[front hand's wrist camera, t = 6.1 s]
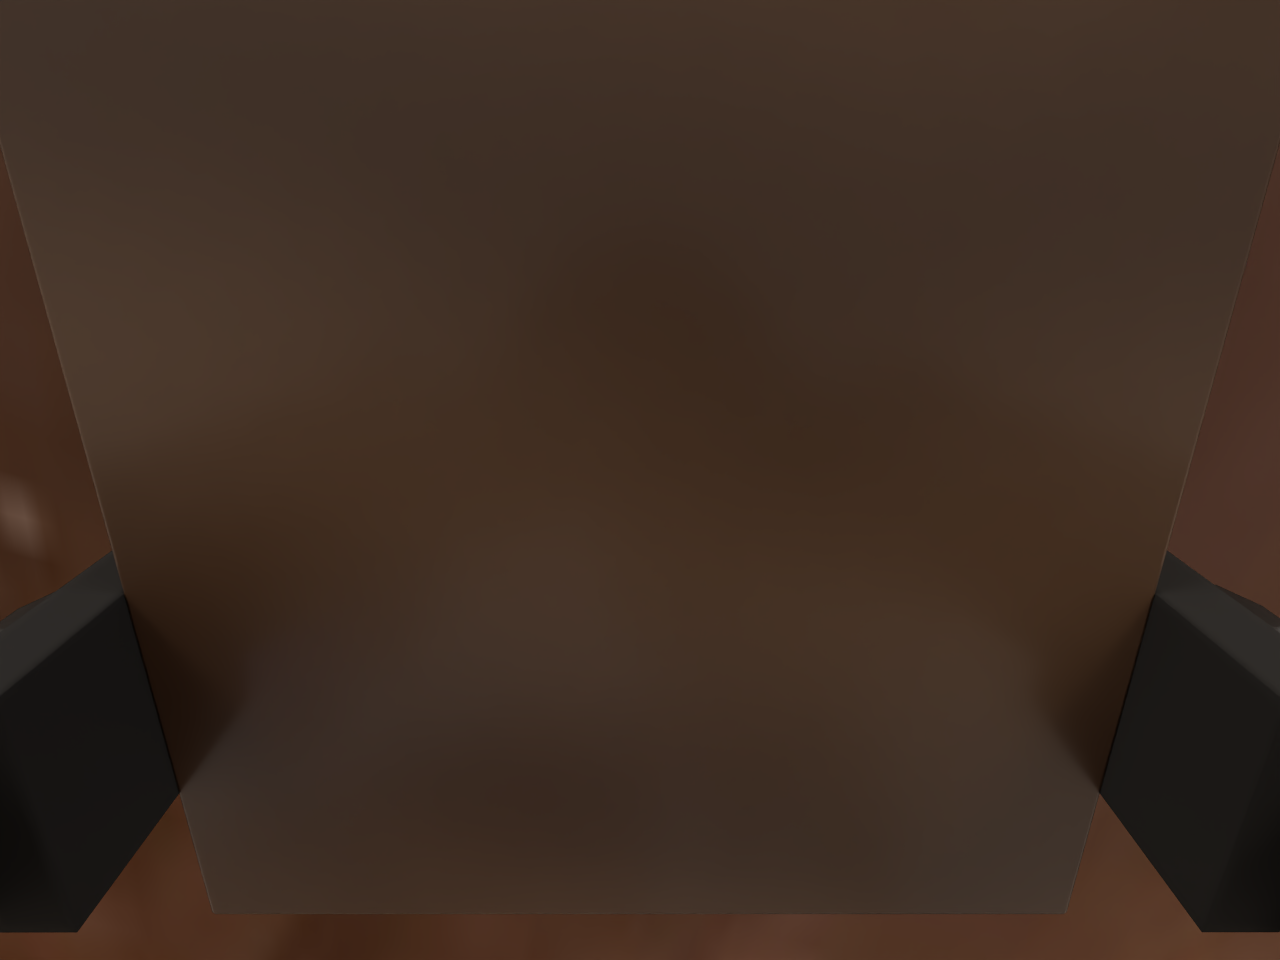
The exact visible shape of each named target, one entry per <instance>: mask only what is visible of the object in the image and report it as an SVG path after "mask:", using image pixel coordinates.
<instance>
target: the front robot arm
mask: <svg viewBox="0 0 1280 960" xmlns="http://www.w3.org/2000/svg"><path fill="white" fill-rule="evenodd" d="M178 794H179V790H178V786H177V783H176V779H175V775H174V772H173V768H172V765H171V761H170V757H169V754H168V750H167V747H166V743H165V739H164V736H163V732H162V728H161V725H160V721H159V718H158V714H157V710H156V707H155V703H154V700H153V696H152V692H151V689H150V685H149V682H148V678H147V674H146V671H145V667H144V664H143V660H142V656H141V653H140V649H139V645H138V642H137V638H136V635H135V631H134V627H133V624H132V620H131V617H130V613H129V609H128V606H127V602H126V599H125V595H124V591H123V588H122V584H121V581H120V577H119V573H118V570H117V566H116V562H115V559H114V555H113V552H112V551H111V552H109V553H108V554H107V555H105V556H104V557H103V558H101V559H100V560H98V561H97V562H96V563H94V564H93V565H92V566H90V567H89V568H87V569H86V570H85V571H83V572H82V573H81V574H79V575H78V576H76V577H75V578H74V579H72V580H71V581H70V582H68V583H67V584H65V585H64V586H63V587H61V588H60V589H59V590H57V591H56V592H54V593H51V594H49V595H47V596H45V597H43V598H41V599H38V600H36V601H34V602H32V603H30V604H28V605H25V606H23V607H21V608H19V609H17V610H16V611H14V612H13V613H12V614H10V615H9V616H7V617H6V618H5V619H3V620H2V621H0V932H78V930H79V929H80V928H81V926H82V925H83V924H84V922H85V921H86V919H87V918H88V917H89V915H90V914H91V913H92V911H93V910H94V909H95V907H96V906H97V904H98V903H99V902H100V900H101V899H102V898H103V896H104V895H105V894H106V892H107V891H108V890H109V888H110V887H111V885H112V884H113V883H114V881H115V880H116V879H117V877H118V876H119V875H120V873H121V872H122V870H123V869H124V868H125V866H126V865H127V864H128V862H129V861H130V860H131V858H132V857H133V855H134V854H135V853H136V851H137V850H138V849H139V847H140V846H141V845H142V843H143V842H144V840H145V839H146V838H147V836H148V835H149V834H150V832H151V831H152V830H153V828H154V827H155V825H156V824H157V823H158V821H159V820H160V819H161V817H162V816H163V815H164V813H165V812H166V811H167V809H168V808H169V806H170V805H171V804H172V802H173V801H174V800H175V798H176V797H177V796H178ZM1100 794H1101V795H1102V797H1103V798H1104V799H1105V801H1106V802H1107V803H1108V805H1109V806H1110V808H1111V809H1112V810H1113V812H1114V813H1115V814H1116V816H1117V817H1118V818H1119V820H1120V821H1121V823H1122V824H1123V825H1124V827H1125V828H1126V829H1127V831H1128V832H1129V833H1130V835H1131V836H1132V838H1133V839H1134V840H1135V842H1136V843H1137V844H1138V846H1139V847H1140V848H1141V850H1142V851H1143V853H1144V854H1145V855H1146V857H1147V858H1148V859H1149V861H1150V862H1151V863H1152V865H1153V866H1154V868H1155V869H1156V870H1157V872H1158V873H1159V874H1160V876H1161V877H1162V878H1163V880H1164V881H1165V882H1166V884H1167V885H1168V887H1169V888H1170V889H1171V891H1172V892H1173V893H1174V895H1175V896H1176V897H1177V899H1178V900H1179V902H1180V903H1181V904H1182V906H1183V907H1184V908H1185V910H1186V911H1187V912H1188V914H1189V915H1190V917H1191V918H1192V919H1193V921H1194V922H1195V923H1196V925H1197V926H1198V927H1199V929H1200V930H1201V932H1280V618H1278V617H1277V616H1276V615H1274V614H1273V613H1271V612H1270V611H1269V610H1267V609H1266V608H1264V607H1263V606H1261V605H1259V604H1257V603H1255V602H1252V601H1250V600H1248V599H1246V598H1244V597H1241V596H1239V595H1237V594H1235V593H1233V592H1231V591H1228V590H1226V589H1224V588H1222V587H1220V586H1217V585H1214V584H1212V583H1211V582H1209V581H1208V580H1207V579H1205V578H1204V577H1203V576H1201V575H1200V574H1198V573H1197V572H1196V571H1194V570H1193V569H1192V568H1190V567H1189V566H1187V565H1186V564H1185V563H1183V562H1182V561H1181V560H1179V559H1178V558H1176V557H1175V556H1174V555H1172V554H1171V553H1170V552H1168V551H1166V555H1165V559H1164V562H1163V566H1162V570H1161V573H1160V577H1159V580H1158V584H1157V588H1156V591H1155V595H1154V598H1153V602H1152V606H1151V609H1150V613H1149V616H1148V620H1147V624H1146V627H1145V631H1144V634H1143V638H1142V642H1141V645H1140V649H1139V652H1138V656H1137V660H1136V663H1135V667H1134V671H1133V674H1132V678H1131V681H1130V685H1129V689H1128V692H1127V696H1126V699H1125V703H1124V707H1123V710H1122V714H1121V717H1120V721H1119V725H1118V728H1117V732H1116V735H1115V739H1114V743H1113V746H1112V750H1111V753H1110V757H1109V761H1108V764H1107V768H1106V772H1105V775H1104V779H1103V782H1102V786H1101V790H1100Z"/></svg>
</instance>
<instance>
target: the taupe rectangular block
mask: <svg viewBox="0 0 1280 960" xmlns="http://www.w3.org/2000/svg"><path fill="white" fill-rule="evenodd" d="M1279 144H1280V0H0V147H1V151H2V155H3V158H4V162H5V165H6V169H7V173H8V176H9V180H10V184H11V187H12V191H13V194H14V198H15V202H16V205H17V209H18V212H19V216H20V220H21V223H22V227H23V230H24V234H25V238H26V241H27V245H28V248H29V252H30V256H31V259H32V263H33V267H34V270H35V274H36V277H37V281H38V285H39V288H40V292H41V295H42V299H43V303H44V306H45V310H46V313H47V317H48V321H49V324H50V328H51V331H52V335H53V339H54V342H55V346H56V350H57V353H58V357H59V360H60V364H61V368H62V371H63V375H64V378H65V382H66V386H67V389H68V393H69V396H70V400H71V404H72V407H73V411H74V414H75V418H76V422H77V425H78V429H79V433H80V436H81V440H82V443H83V447H84V451H85V454H86V458H87V461H88V465H89V469H90V472H91V476H92V479H93V483H94V487H95V490H96V494H97V498H98V501H99V505H100V508H101V512H102V516H103V519H104V523H105V526H106V530H107V534H108V537H109V541H110V544H111V548H112V552H113V555H114V559H115V562H116V566H117V570H118V573H119V577H120V581H121V584H122V588H123V591H124V595H125V599H126V602H127V606H128V609H129V613H130V617H131V620H132V624H133V627H134V631H135V635H136V638H137V642H138V645H139V649H140V653H141V656H142V660H143V664H144V667H145V671H146V674H147V678H148V682H149V685H150V689H151V692H152V696H153V700H154V703H155V707H156V710H157V714H158V718H159V721H160V725H161V728H162V732H163V736H164V739H165V743H166V747H167V750H168V754H169V757H170V761H171V765H172V768H173V772H174V775H175V779H176V783H177V786H178V790H179V793H180V797H181V801H182V804H183V808H184V812H185V815H186V819H187V822H188V826H189V830H190V833H191V837H192V840H193V844H194V848H195V851H196V855H197V858H198V862H199V866H200V869H201V873H202V876H203V880H204V884H205V887H206V891H207V895H208V898H209V902H210V905H211V909H212V912H213V913H215V914H1064V913H1066V912H1067V909H1068V905H1069V901H1070V898H1071V894H1072V891H1073V887H1074V883H1075V880H1076V876H1077V872H1078V869H1079V865H1080V862H1081V858H1082V854H1083V851H1084V847H1085V844H1086V840H1087V836H1088V833H1089V829H1090V826H1091V822H1092V818H1093V815H1094V811H1095V808H1096V804H1097V800H1098V797H1099V793H1100V790H1101V786H1102V782H1103V779H1104V775H1105V772H1106V768H1107V764H1108V761H1109V757H1110V753H1111V750H1112V746H1113V743H1114V739H1115V735H1116V732H1117V728H1118V725H1119V721H1120V717H1121V714H1122V710H1123V707H1124V703H1125V699H1126V696H1127V692H1128V689H1129V685H1130V681H1131V678H1132V674H1133V671H1134V667H1135V663H1136V660H1137V656H1138V652H1139V649H1140V645H1141V642H1142V638H1143V634H1144V631H1145V627H1146V624H1147V620H1148V616H1149V613H1150V609H1151V606H1152V602H1153V598H1154V595H1155V591H1156V588H1157V584H1158V580H1159V577H1160V573H1161V570H1162V566H1163V562H1164V559H1165V555H1166V551H1167V548H1168V544H1169V541H1170V537H1171V533H1172V530H1173V526H1174V523H1175V519H1176V515H1177V512H1178V508H1179V505H1180V501H1181V497H1182V494H1183V490H1184V487H1185V483H1186V479H1187V476H1188V472H1189V469H1190V465H1191V461H1192V458H1193V454H1194V450H1195V447H1196V443H1197V440H1198V436H1199V432H1200V429H1201V425H1202V422H1203V418H1204V414H1205V411H1206V407H1207V404H1208V400H1209V396H1210V393H1211V389H1212V386H1213V382H1214V378H1215V375H1216V371H1217V368H1218V364H1219V360H1220V357H1221V353H1222V349H1223V346H1224V342H1225V339H1226V335H1227V331H1228V328H1229V324H1230V321H1231V317H1232V313H1233V310H1234V306H1235V303H1236V299H1237V295H1238V292H1239V288H1240V285H1241V281H1242V277H1243V274H1244V270H1245V267H1246V263H1247V259H1248V256H1249V252H1250V249H1251V245H1252V241H1253V238H1254V234H1255V230H1256V227H1257V223H1258V220H1259V216H1260V212H1261V209H1262V205H1263V202H1264V198H1265V194H1266V191H1267V187H1268V184H1269V180H1270V176H1271V173H1272V169H1273V166H1274V162H1275V158H1276V155H1277V151H1278V148H1279Z"/></svg>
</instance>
